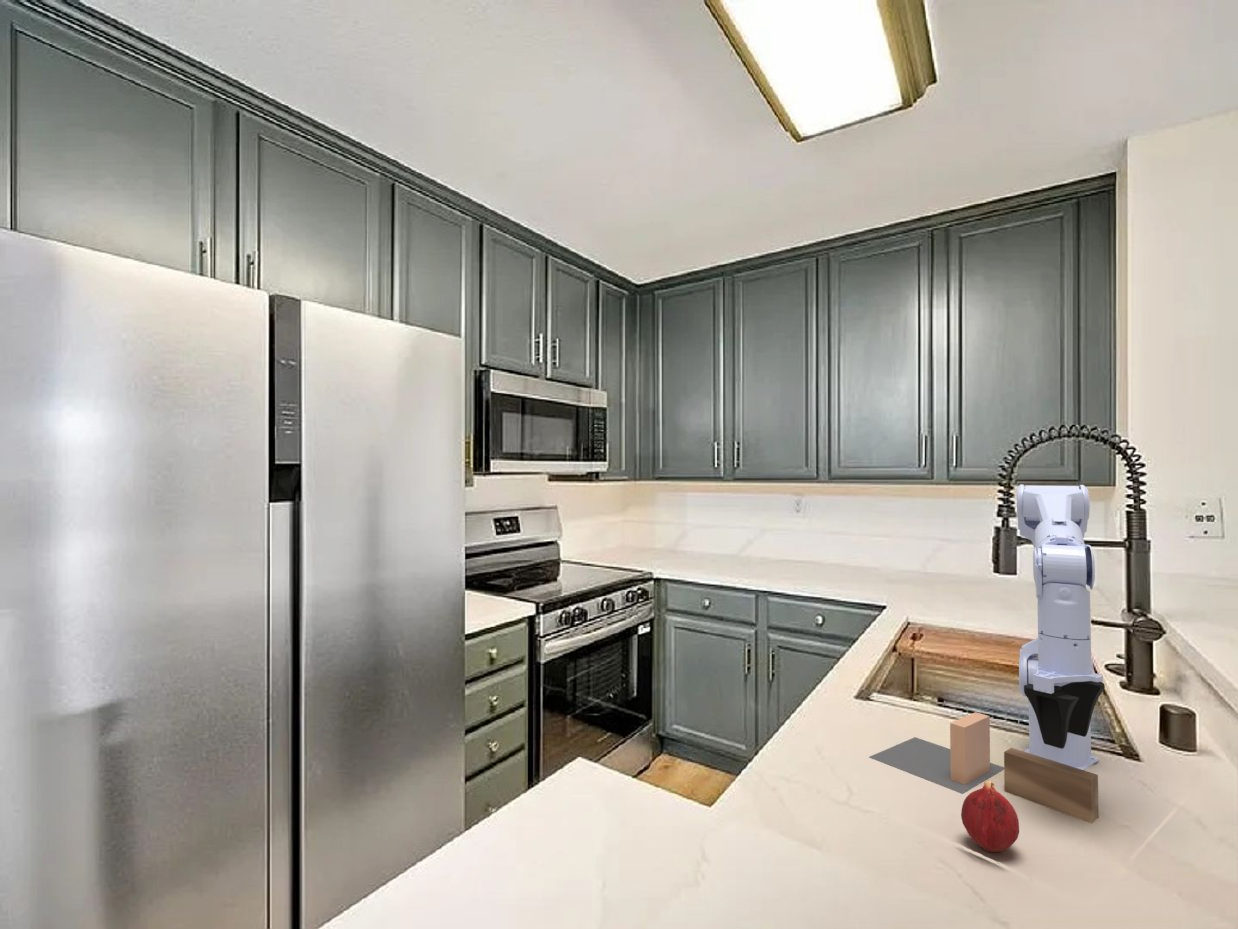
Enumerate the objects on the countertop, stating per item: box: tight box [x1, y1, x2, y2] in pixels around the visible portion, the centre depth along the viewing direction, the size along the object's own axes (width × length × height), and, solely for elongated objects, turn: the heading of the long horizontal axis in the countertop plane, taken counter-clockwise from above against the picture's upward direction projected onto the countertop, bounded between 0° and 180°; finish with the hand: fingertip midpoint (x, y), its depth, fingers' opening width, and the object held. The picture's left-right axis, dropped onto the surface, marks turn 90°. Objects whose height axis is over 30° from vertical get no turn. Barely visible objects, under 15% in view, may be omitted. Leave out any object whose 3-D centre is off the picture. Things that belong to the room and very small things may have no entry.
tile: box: [949, 711, 991, 785], centre depth 90 cm, size 8×2×8 cm, turn 126°
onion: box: [960, 779, 1020, 853], centre depth 71 cm, size 6×6×8 cm
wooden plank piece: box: [1003, 747, 1100, 824], centre depth 82 cm, size 2×10×6 cm, turn 36°
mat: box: [868, 736, 1004, 795], centre depth 94 cm, size 14×14×1 cm
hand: (1065, 739), depth 80 cm, fingers open, 7 cm apart
